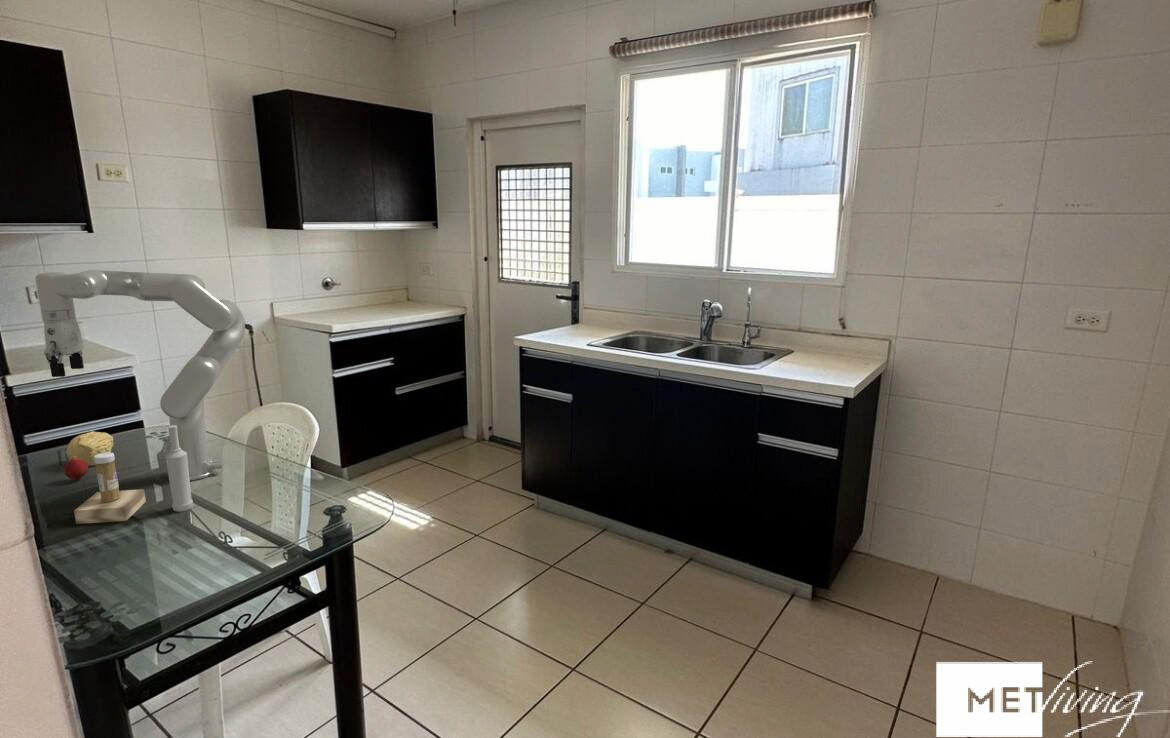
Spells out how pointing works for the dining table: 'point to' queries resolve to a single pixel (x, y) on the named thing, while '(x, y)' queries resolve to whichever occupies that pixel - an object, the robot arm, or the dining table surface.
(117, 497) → the sprinkles bottle
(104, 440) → the sculpture
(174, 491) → the bottle
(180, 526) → the dining table surface
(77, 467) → the red rounded lump
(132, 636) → the dining table surface
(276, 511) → the dining table surface
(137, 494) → the wooden base
